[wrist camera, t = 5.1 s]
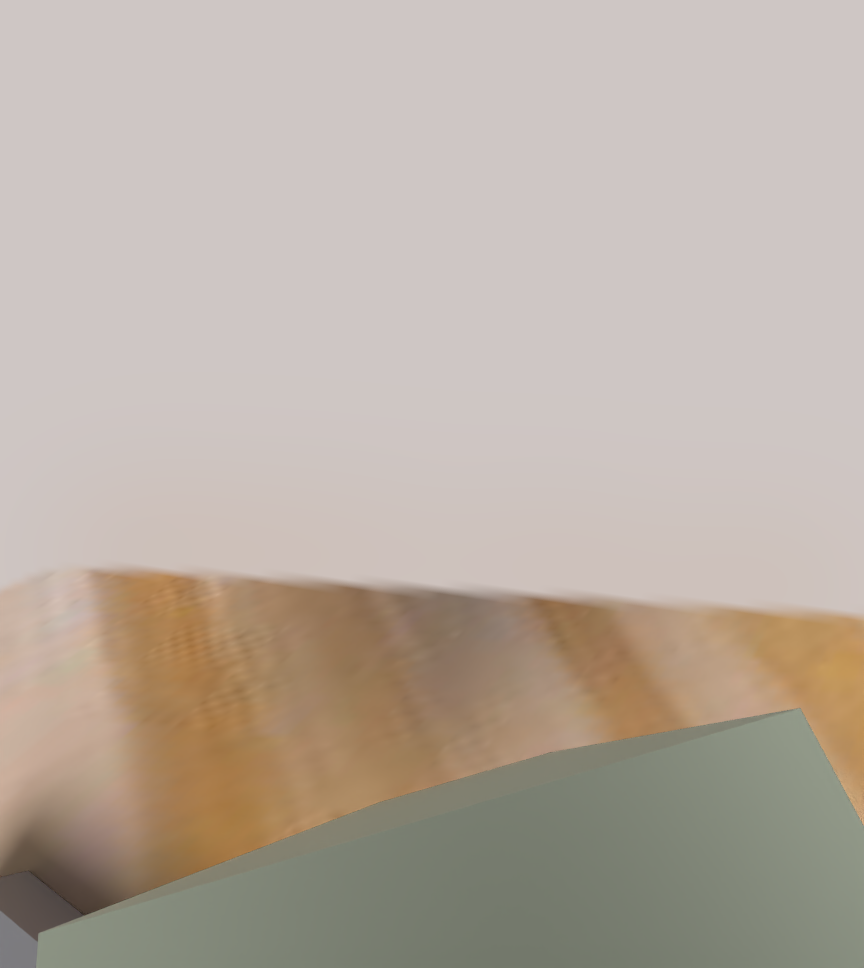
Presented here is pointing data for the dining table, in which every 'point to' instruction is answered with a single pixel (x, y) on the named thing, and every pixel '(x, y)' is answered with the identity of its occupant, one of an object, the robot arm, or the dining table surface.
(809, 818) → the sage block
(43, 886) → the slate slab
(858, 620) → the dining table surface
